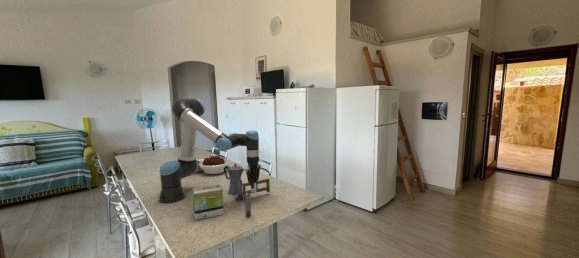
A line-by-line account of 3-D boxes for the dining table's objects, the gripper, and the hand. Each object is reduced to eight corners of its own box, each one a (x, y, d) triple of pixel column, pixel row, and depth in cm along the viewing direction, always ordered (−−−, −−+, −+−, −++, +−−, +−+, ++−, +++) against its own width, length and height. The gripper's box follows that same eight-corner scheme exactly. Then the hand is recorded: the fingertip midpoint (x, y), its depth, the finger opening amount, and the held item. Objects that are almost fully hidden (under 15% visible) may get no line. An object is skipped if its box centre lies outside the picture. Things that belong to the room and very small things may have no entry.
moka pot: (242, 195, 163) (241, 166, 160) (221, 194, 166) (219, 165, 163) (247, 190, 172) (246, 162, 170) (227, 189, 175) (226, 161, 173)
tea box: (195, 221, 130) (193, 194, 128) (193, 213, 139) (191, 188, 137) (224, 214, 137) (222, 189, 135) (220, 207, 146) (218, 183, 144)
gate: (269, 192, 165) (269, 179, 163) (243, 197, 156) (243, 184, 155) (268, 191, 166) (268, 178, 165) (242, 196, 157) (242, 183, 156)
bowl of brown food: (210, 167, 229) (209, 151, 227) (234, 169, 223) (234, 153, 221) (193, 176, 205) (192, 158, 203) (220, 178, 199) (219, 160, 197)
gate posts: (243, 218, 133) (242, 195, 131) (234, 199, 157) (233, 179, 156) (254, 216, 135) (253, 193, 133) (244, 197, 160) (243, 178, 158)
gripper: (250, 159, 145) (251, 197, 148) (264, 154, 156) (264, 190, 159) (241, 157, 149) (242, 194, 152) (254, 153, 160) (255, 188, 163)
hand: (253, 192), depth 155 cm, fingers closed
